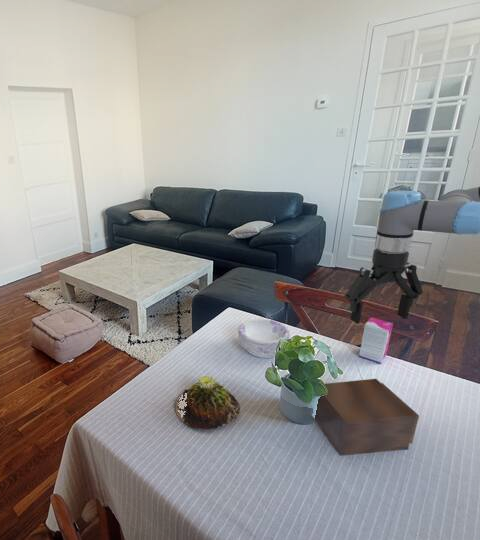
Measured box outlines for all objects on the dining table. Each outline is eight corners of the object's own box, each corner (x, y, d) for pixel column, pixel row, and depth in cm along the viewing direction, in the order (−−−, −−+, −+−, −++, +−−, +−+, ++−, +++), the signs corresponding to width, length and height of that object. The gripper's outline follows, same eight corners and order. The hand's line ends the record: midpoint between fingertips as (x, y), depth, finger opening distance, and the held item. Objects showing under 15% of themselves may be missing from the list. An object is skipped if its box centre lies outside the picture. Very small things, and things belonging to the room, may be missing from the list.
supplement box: (381, 364, 98) (388, 330, 94) (358, 357, 103) (363, 324, 99) (387, 355, 102) (393, 322, 98) (364, 348, 106) (369, 316, 102)
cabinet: (370, 410, 84) (376, 378, 80) (408, 449, 73) (416, 414, 70) (311, 415, 84) (314, 384, 81) (340, 455, 73) (345, 421, 70)
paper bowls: (229, 343, 117) (229, 323, 114) (268, 333, 120) (268, 314, 117) (256, 369, 103) (257, 346, 100) (299, 357, 106) (301, 335, 103)
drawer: (382, 407, 83) (387, 382, 80) (417, 442, 73) (425, 414, 70) (322, 413, 83) (325, 388, 81) (349, 449, 73) (354, 421, 71)
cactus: (211, 380, 100) (211, 352, 97) (253, 413, 87) (254, 383, 83) (163, 403, 94) (161, 374, 90) (200, 443, 80) (199, 411, 77)
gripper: (426, 241, 94) (411, 308, 101) (336, 250, 94) (327, 317, 102) (451, 248, 87) (433, 321, 94) (353, 259, 87) (343, 329, 95)
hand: (378, 319), depth 98 cm, fingers open, 13 cm apart
